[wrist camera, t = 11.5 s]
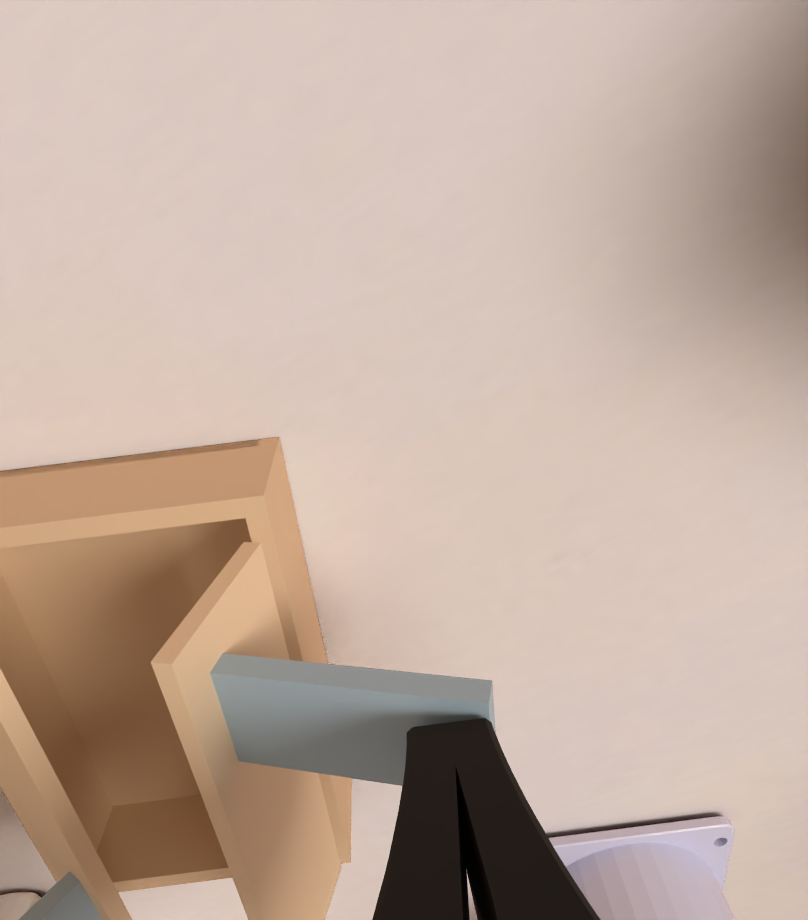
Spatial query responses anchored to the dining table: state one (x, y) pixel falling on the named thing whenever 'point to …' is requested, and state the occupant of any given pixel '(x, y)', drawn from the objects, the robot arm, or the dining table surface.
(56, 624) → the carton
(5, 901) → the photo printer
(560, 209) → the dining table surface
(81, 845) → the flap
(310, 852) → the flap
